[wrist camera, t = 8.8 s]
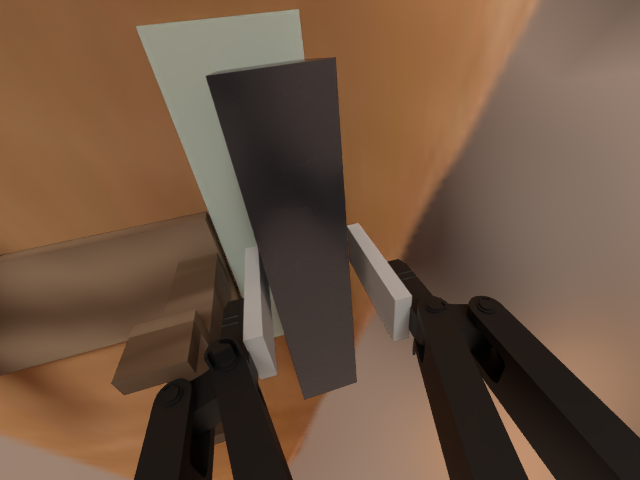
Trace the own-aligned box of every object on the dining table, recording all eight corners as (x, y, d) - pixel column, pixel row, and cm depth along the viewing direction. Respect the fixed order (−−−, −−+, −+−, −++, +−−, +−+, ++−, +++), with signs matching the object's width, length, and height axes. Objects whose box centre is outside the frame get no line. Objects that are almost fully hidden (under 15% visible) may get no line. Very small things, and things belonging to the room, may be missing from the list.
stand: (-141, 285, 14) (-635, 577, 6) (206, 211, 17) (180, 346, 9) (-15, 368, 18) (-202, 596, 11) (241, 300, 21) (246, 441, 13)
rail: (290, 332, 24) (304, 399, 19) (216, 71, 13) (205, 75, 8) (332, 319, 25) (356, 382, 20) (298, 59, 13) (335, 57, 8)
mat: (138, 27, 12) (135, 26, 11) (296, 10, 13) (298, 9, 12) (259, 338, 24) (259, 341, 24) (333, 316, 25) (335, 319, 25)
